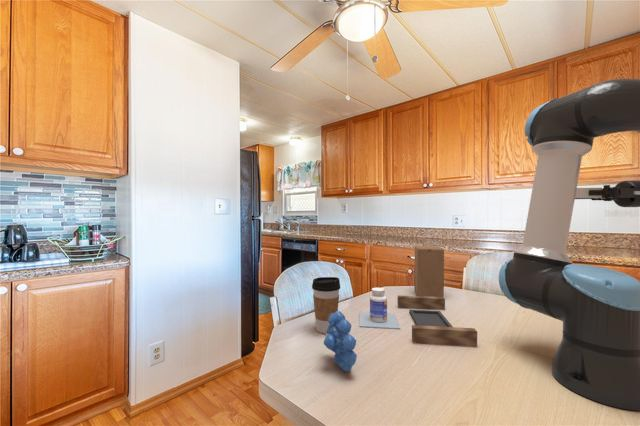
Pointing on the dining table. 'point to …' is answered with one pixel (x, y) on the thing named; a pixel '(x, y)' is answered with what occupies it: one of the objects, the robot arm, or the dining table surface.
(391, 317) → the pad
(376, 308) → the pill bottle
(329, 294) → the coffee cup
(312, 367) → the dining table surface
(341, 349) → the grapes
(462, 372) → the dining table surface
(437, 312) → the tray
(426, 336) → the walnut lane walls
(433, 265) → the wooden block
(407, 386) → the dining table surface
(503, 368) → the dining table surface
